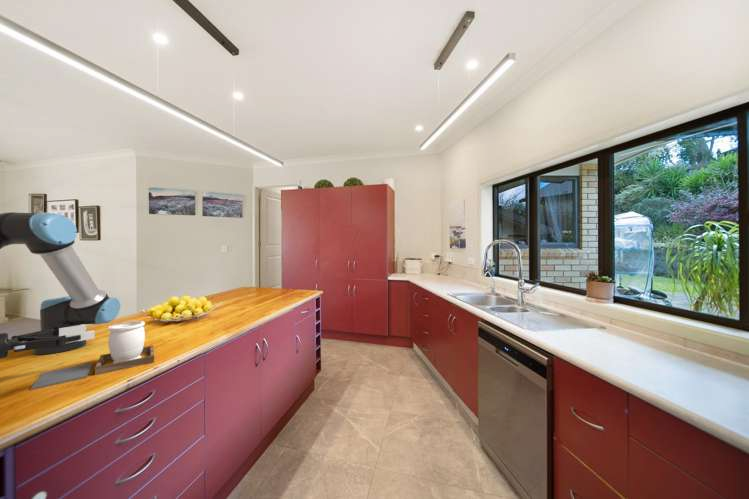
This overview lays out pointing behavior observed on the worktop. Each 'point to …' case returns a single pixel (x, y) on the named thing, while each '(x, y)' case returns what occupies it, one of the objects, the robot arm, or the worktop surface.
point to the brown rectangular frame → (125, 364)
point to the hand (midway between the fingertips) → (90, 330)
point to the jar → (126, 340)
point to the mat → (62, 375)
